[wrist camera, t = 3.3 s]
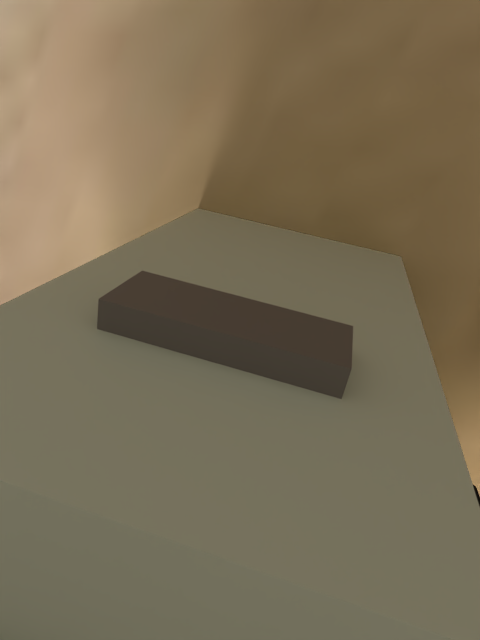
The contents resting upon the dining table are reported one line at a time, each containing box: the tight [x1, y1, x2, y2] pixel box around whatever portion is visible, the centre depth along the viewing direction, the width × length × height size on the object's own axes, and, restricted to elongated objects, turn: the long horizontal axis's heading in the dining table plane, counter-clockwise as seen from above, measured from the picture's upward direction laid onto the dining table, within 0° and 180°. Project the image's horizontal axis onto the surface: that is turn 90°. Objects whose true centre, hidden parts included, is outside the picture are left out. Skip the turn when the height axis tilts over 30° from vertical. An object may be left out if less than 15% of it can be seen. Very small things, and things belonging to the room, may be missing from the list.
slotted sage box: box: [0, 208, 480, 640], centre depth 10 cm, size 6×10×10 cm, turn 170°
